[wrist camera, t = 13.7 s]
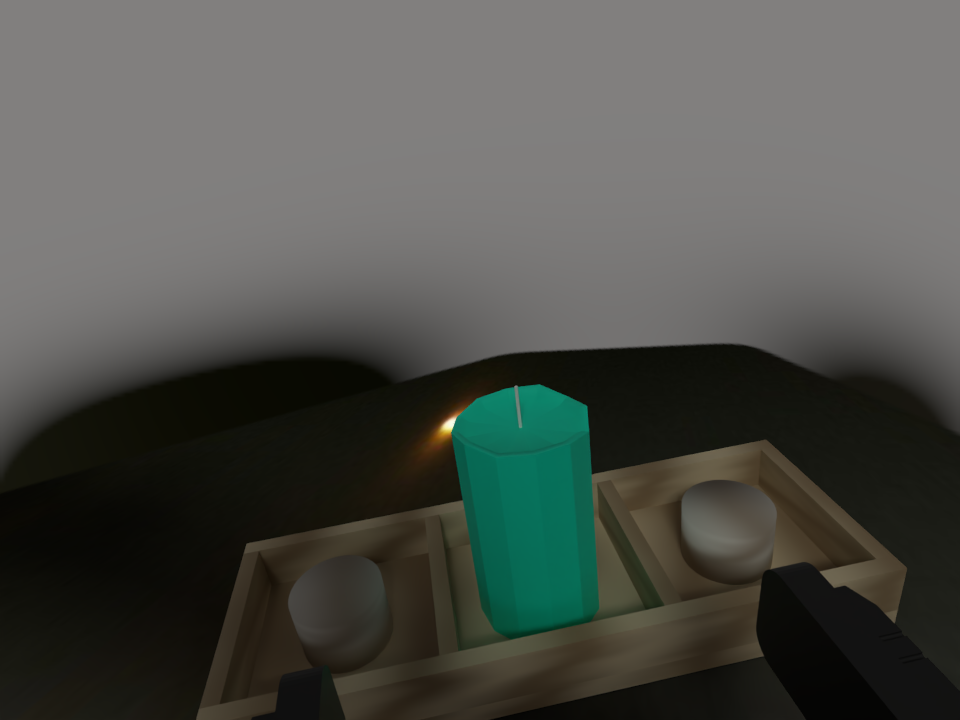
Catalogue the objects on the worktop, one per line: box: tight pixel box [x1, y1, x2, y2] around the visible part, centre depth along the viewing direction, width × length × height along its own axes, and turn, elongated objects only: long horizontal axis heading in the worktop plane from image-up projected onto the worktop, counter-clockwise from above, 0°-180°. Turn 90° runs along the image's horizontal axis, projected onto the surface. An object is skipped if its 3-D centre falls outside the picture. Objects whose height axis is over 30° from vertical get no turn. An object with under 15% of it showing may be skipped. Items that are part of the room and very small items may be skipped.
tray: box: [196, 440, 907, 720], centre depth 30 cm, size 30×11×4 cm, turn 99°
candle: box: [451, 385, 599, 640], centre depth 28 cm, size 6×6×12 cm
